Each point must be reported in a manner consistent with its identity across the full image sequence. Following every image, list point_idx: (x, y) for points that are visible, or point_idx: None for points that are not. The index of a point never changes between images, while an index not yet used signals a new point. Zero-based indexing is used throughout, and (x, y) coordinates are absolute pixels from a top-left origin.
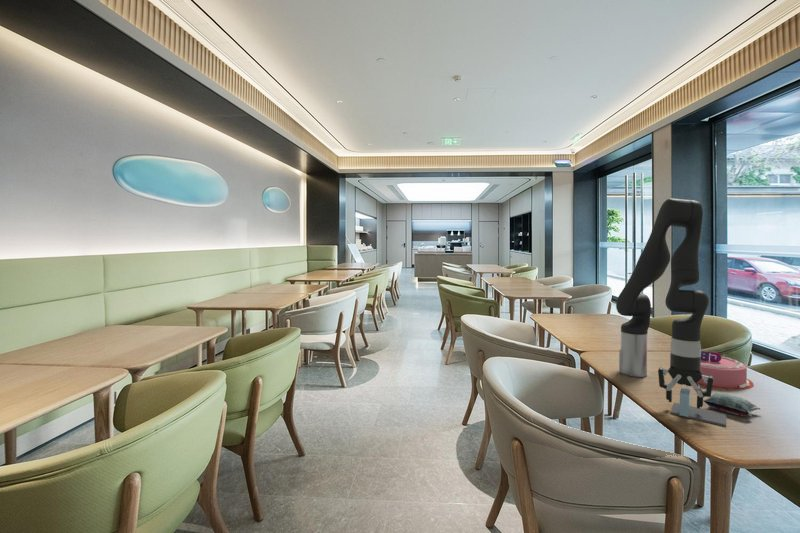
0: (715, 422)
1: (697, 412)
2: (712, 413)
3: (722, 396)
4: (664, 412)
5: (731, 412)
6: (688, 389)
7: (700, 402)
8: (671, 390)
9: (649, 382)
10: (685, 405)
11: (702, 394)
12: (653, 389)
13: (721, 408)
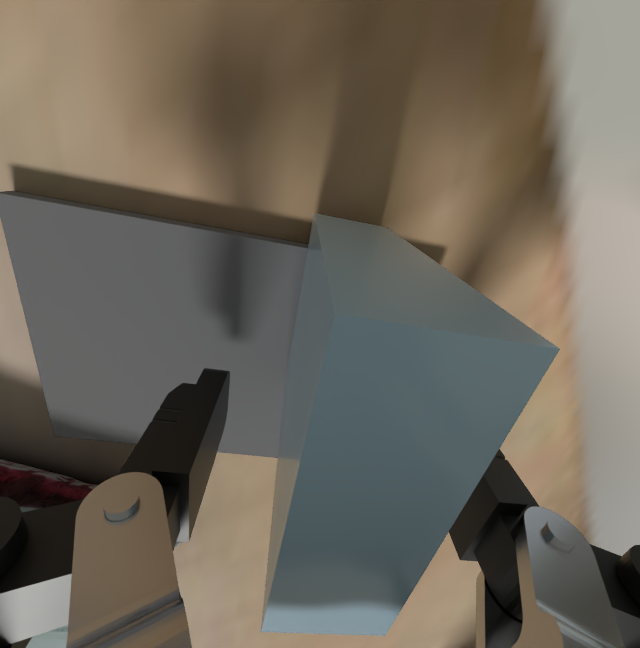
0: (90, 208)
1: (234, 366)
2: (135, 399)
3: None
4: (481, 272)
5: (28, 468)
6: (295, 599)
7: (177, 422)
8: (480, 534)
9: (425, 636)
10: (358, 242)
11: (75, 526)
12: (430, 584)
13: (84, 490)
